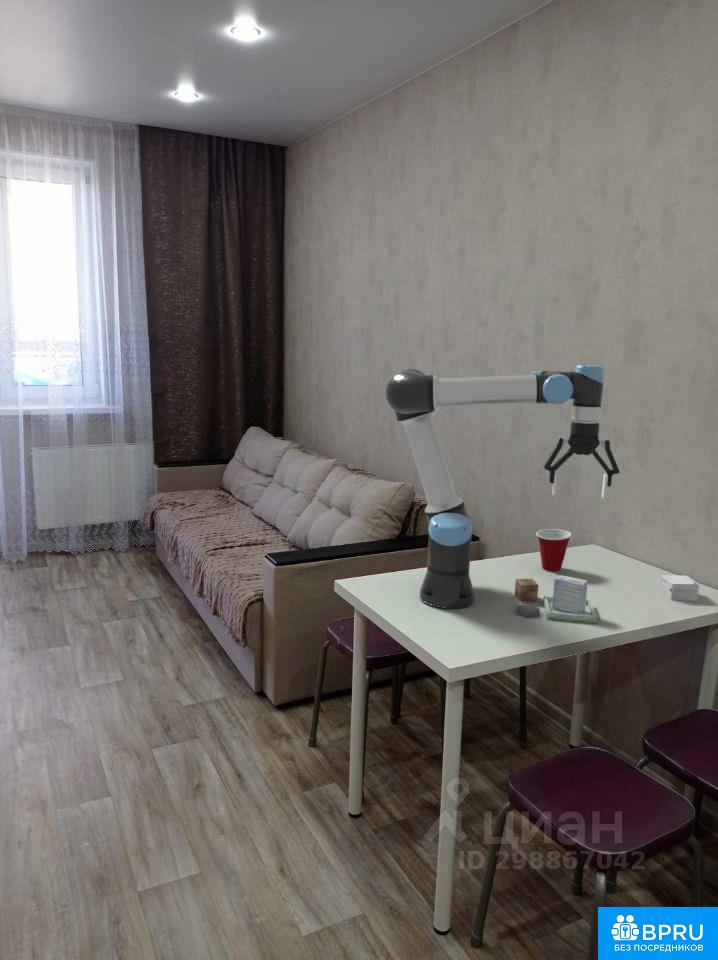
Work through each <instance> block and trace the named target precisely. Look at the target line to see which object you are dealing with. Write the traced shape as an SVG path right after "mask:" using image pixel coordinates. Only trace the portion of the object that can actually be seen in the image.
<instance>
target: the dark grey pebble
mask: <svg viewBox="0 0 718 960" xmlns="http://www.w3.org/2000/svg"><path fill="white" fill-rule="evenodd" d="M516 614H517V615H518V616H522V617H524V618H536V617H538V616H539V617H540V608H539V607H538V606H535V605H531V604H519V605H517V606H516Z"/></svg>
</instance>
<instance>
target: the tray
mask: <svg viewBox="0 0 718 960" xmlns="http://www.w3.org/2000/svg"><path fill="white" fill-rule="evenodd" d="M542 599H543V601H542V602H543V607H544V611H545V617H546V620H553V621H565V622H577V623H585V624H586V623H587V622H588V623H587V624H597V622H598V615H597V613H596V611H595V607H594V606H593V603H592V600H591V599H588V598H586V608H585V611H584V612H583V613H582V614H573V613H569V612H565V611H560V610H556V609H552V603H553V595H552V596H551V595H543V598H542Z"/></svg>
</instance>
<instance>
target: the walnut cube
mask: <svg viewBox="0 0 718 960" xmlns="http://www.w3.org/2000/svg"><path fill="white" fill-rule="evenodd" d="M514 584H515V585H514V597H515V598H516V599H517V600H518V602H520V603H522V602H523V603H526V602H529V603H530V602H531V603H533V602H535V603H537V602H538V597H539V595H538V594H539V583H538V582H536V580H534V579H533V578H515V583H514ZM525 601H526V602H525Z"/></svg>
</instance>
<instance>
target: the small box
mask: <svg viewBox="0 0 718 960" xmlns="http://www.w3.org/2000/svg"><path fill="white" fill-rule="evenodd" d="M699 587H700V584H699V583H697V582H696V581H695V580H694V579H693V578H691V577H690V576H688V575H684V574H683V575H673V574H669V575H668V574H667V575H666V574H662V576H661V585H660V592H662V593H663V594H664V595H665V596H666V597H667V598H668V599H669V601H670V600H671V601H693V602H694V601H698V597H699Z"/></svg>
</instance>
